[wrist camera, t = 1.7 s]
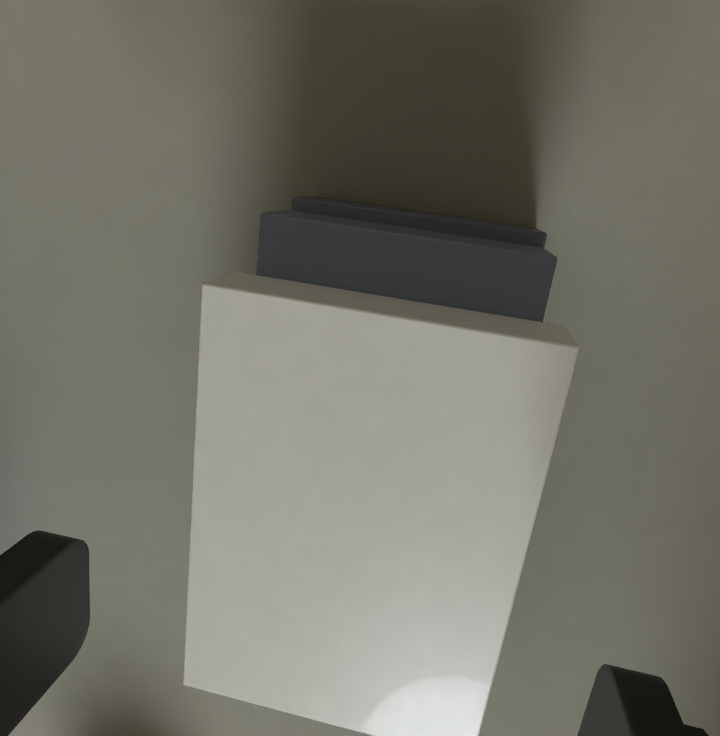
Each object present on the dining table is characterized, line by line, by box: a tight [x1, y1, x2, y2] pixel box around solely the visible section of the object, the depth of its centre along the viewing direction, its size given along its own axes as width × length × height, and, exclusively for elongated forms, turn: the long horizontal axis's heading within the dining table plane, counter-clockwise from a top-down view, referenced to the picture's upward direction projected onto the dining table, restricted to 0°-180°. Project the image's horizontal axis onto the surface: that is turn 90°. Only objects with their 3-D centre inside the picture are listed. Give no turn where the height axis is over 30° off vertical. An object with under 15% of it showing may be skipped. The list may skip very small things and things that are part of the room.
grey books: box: [256, 197, 557, 322], centre depth 14 cm, size 12×6×4 cm, turn 172°
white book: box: [183, 272, 580, 736], centre depth 12 cm, size 9×6×2 cm
